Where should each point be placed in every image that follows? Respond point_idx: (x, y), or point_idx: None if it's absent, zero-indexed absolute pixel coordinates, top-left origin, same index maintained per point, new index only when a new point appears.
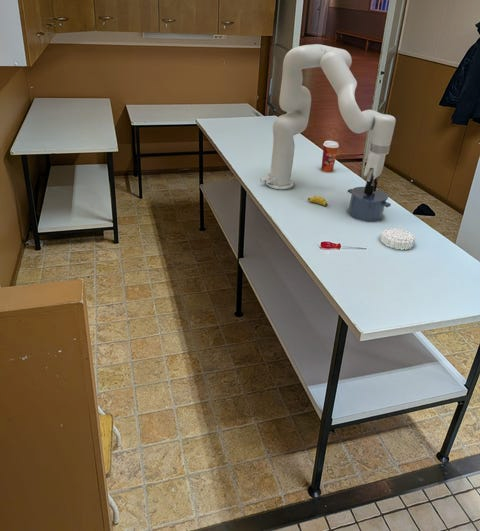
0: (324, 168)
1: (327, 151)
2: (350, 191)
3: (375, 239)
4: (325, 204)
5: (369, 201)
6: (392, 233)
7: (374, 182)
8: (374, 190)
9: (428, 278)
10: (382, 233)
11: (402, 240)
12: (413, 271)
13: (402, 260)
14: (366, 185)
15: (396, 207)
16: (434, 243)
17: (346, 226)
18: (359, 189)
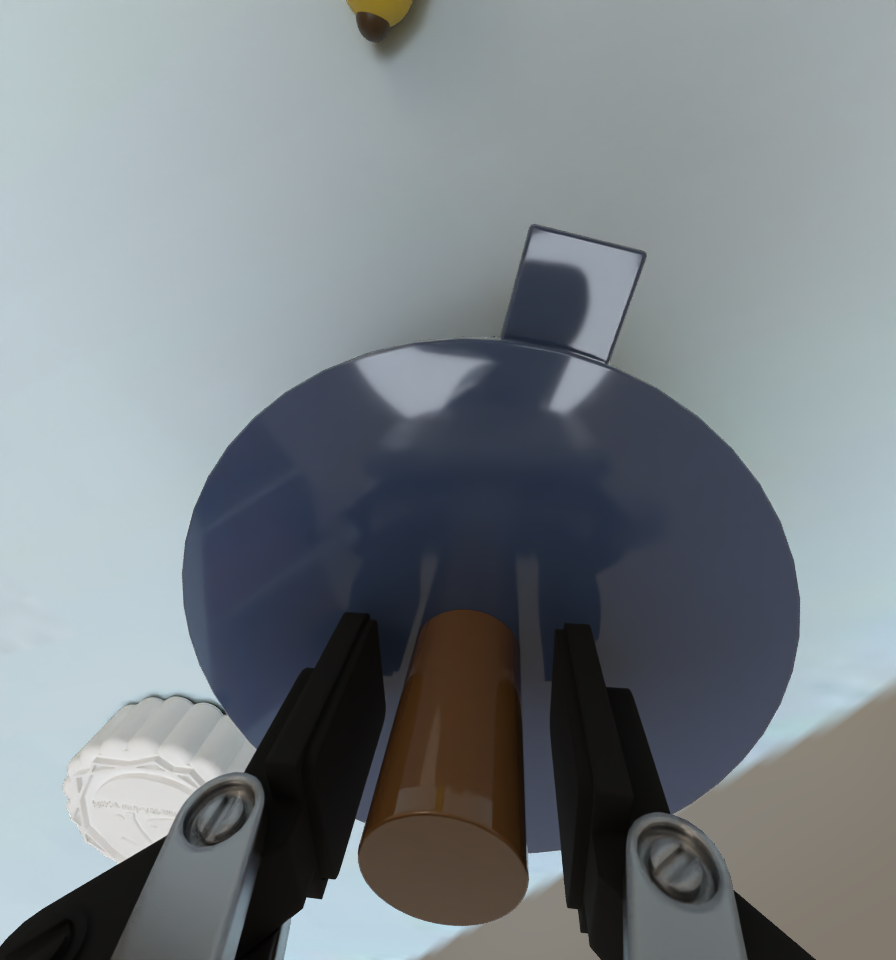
0: None
1: None
2: (511, 298)
3: (128, 671)
4: (352, 10)
5: (228, 693)
6: (131, 802)
7: (484, 915)
8: (552, 733)
9: (12, 896)
10: (101, 744)
11: (104, 850)
12: (4, 852)
13: (46, 811)
14: (281, 753)
15: (836, 693)
16: (354, 912)
17: (127, 451)
18: (544, 470)
